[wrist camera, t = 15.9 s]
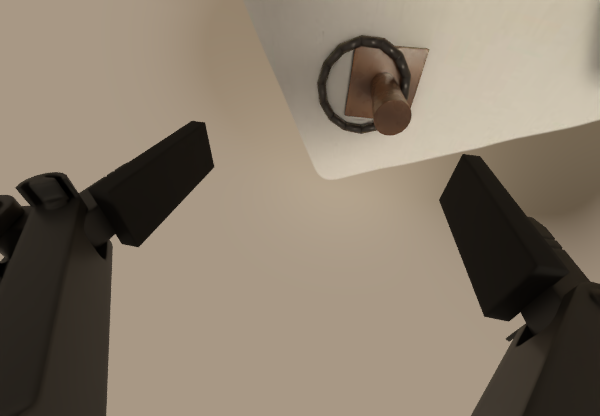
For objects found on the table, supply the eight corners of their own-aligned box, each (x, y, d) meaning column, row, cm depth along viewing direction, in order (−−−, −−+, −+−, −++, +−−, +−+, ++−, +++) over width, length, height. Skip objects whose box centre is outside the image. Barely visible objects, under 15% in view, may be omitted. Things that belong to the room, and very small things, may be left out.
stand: (355, 43, 29) (352, 59, 19) (427, 48, 28) (464, 68, 18) (345, 113, 34) (337, 155, 24) (405, 119, 33) (424, 166, 23)
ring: (324, 29, 28) (321, 31, 27) (427, 42, 26) (427, 44, 25) (314, 122, 36) (312, 125, 35) (393, 138, 33) (393, 141, 33)
